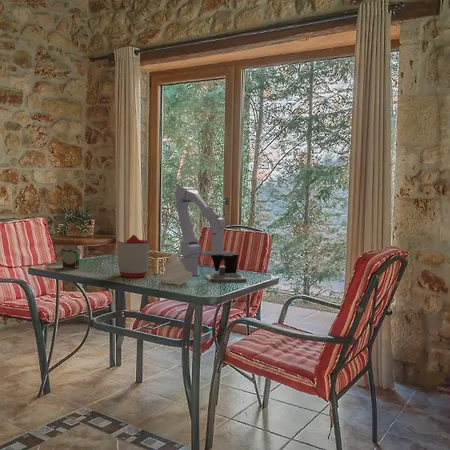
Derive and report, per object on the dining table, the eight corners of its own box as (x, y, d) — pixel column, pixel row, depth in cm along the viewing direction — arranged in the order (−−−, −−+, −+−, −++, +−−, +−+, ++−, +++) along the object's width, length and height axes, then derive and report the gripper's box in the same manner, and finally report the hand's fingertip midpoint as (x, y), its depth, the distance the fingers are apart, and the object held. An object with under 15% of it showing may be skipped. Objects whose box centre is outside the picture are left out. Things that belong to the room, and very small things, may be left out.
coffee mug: (236, 274, 257) (237, 255, 256) (220, 273, 258) (220, 254, 258) (240, 271, 268) (241, 252, 267) (224, 270, 270) (225, 251, 269)
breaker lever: (218, 276, 241) (218, 266, 241) (217, 275, 244) (217, 265, 244) (226, 276, 242) (226, 266, 241) (225, 275, 245) (225, 265, 244)
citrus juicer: (129, 271, 256) (129, 232, 254) (156, 275, 247) (156, 235, 245) (106, 275, 242) (107, 234, 241) (134, 280, 233) (135, 237, 232)
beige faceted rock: (167, 289, 221) (159, 258, 220) (161, 286, 236) (154, 256, 235) (194, 281, 225) (186, 250, 224) (187, 278, 239) (179, 249, 238)
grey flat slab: (209, 281, 236) (209, 276, 235) (204, 276, 247) (204, 272, 247) (246, 280, 239) (246, 276, 239) (240, 276, 251) (240, 272, 251)
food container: (86, 268, 263) (86, 249, 262) (77, 269, 258) (77, 250, 257) (70, 265, 269) (70, 247, 269) (60, 267, 264) (61, 248, 264)
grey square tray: (211, 282, 233) (211, 279, 233) (205, 276, 249) (205, 273, 249) (246, 282, 236) (246, 279, 236) (237, 276, 252) (237, 273, 252)
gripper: (203, 243, 236) (203, 272, 237) (234, 243, 239) (233, 272, 240) (201, 241, 243) (200, 269, 243) (230, 242, 246) (230, 269, 247)
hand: (216, 270), depth 242 cm, fingers closed
